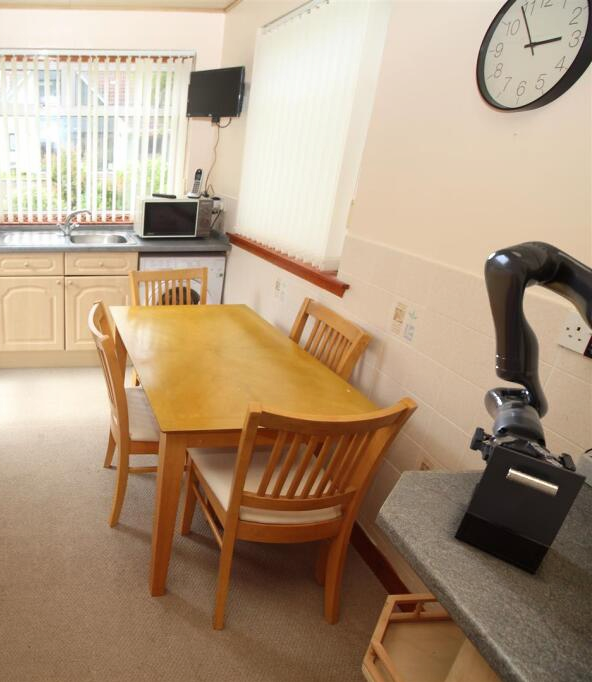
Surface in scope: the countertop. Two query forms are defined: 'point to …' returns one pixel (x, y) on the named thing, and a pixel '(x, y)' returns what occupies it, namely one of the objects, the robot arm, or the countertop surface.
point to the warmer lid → (525, 494)
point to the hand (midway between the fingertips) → (521, 470)
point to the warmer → (500, 541)
